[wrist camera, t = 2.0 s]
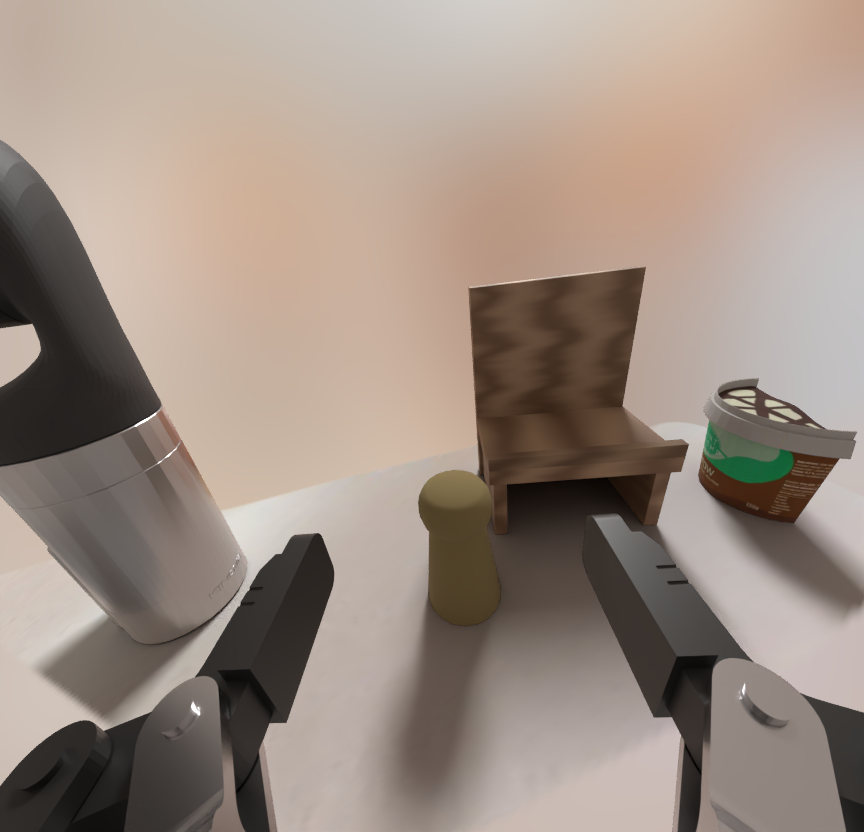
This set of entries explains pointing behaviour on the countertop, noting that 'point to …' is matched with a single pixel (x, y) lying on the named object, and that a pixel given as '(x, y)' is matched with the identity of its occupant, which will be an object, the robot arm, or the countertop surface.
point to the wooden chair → (563, 389)
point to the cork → (460, 547)
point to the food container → (766, 452)
